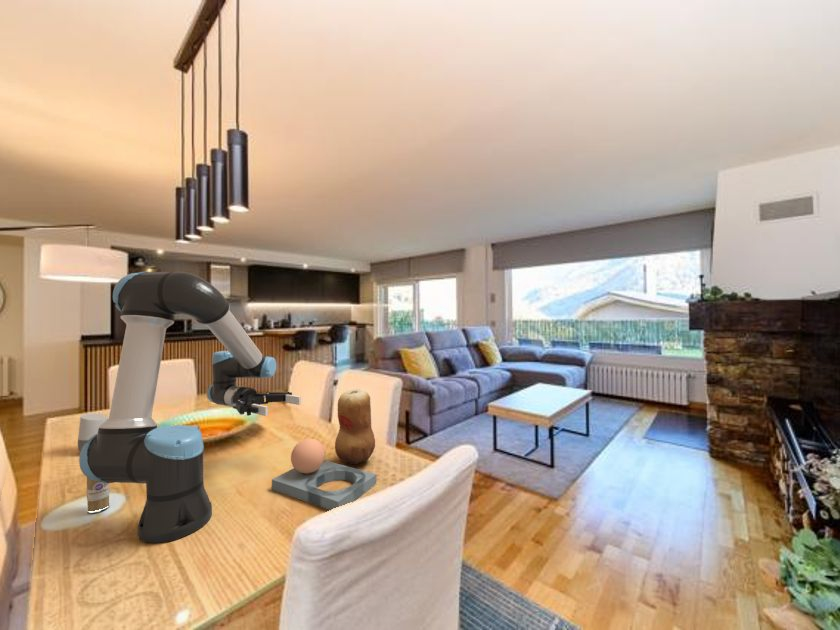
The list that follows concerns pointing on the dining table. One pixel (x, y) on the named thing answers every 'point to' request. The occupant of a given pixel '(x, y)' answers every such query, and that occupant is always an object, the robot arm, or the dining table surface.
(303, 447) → the ball
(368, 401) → the butternut squash
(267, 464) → the dining table surface
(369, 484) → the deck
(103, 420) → the smart speaker
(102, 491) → the sprinkles bottle
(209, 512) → the robot arm
